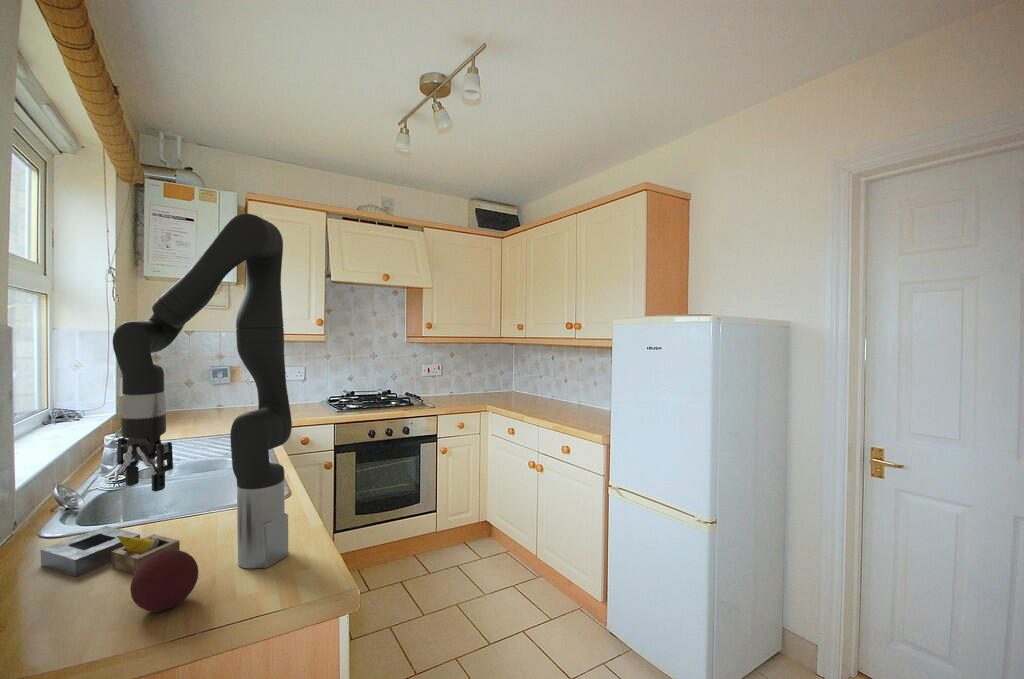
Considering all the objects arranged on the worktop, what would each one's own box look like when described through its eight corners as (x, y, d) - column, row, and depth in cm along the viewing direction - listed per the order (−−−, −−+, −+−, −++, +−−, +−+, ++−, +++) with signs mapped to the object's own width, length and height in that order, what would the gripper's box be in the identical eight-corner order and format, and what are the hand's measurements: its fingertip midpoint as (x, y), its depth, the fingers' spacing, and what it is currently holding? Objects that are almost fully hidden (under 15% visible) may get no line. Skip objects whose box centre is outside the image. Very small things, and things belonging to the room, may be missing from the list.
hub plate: (140, 549, 105) (140, 534, 105) (75, 576, 94) (75, 560, 93) (106, 540, 109) (106, 525, 109) (41, 565, 98) (40, 549, 97)
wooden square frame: (179, 555, 102) (179, 540, 102) (138, 575, 94) (137, 558, 94) (154, 549, 105) (153, 534, 105) (111, 567, 97) (111, 551, 97)
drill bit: (159, 566, 98) (116, 544, 93) (143, 573, 100) (100, 551, 95) (174, 542, 103) (133, 520, 98) (158, 550, 104) (117, 528, 99)
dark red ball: (124, 608, 84) (123, 554, 83) (189, 584, 91) (188, 535, 91) (138, 632, 77) (137, 574, 77) (206, 604, 85) (205, 551, 85)
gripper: (184, 413, 99) (185, 486, 100) (141, 407, 104) (142, 477, 105) (147, 420, 92) (148, 498, 93) (102, 413, 97) (103, 488, 98)
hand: (145, 487), depth 99 cm, fingers open, 8 cm apart
